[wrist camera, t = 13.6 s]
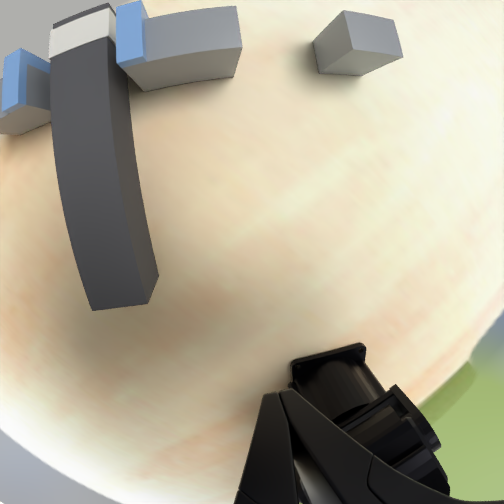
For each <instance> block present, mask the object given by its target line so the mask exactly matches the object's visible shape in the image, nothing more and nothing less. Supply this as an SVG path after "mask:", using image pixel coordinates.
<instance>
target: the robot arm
mask: <svg viewBox="0 0 504 504" xmlns="http://www.w3.org/2000/svg"><path fill="white" fill-rule="evenodd" d="M359 349H360V350H359ZM365 356H366V347H365V345H364V344H362V343H359V344H356V345H352V346H349V347H345V348H341V349H338V350H334V351H330V352H326V353H323V354H319V355H314V356H310V357H306V358H302V359H297V360H294V361H293V362H292V363H291V379H292V383H289V385H288V389H285V390H281V391H279V392H271V393H266V394H264V395H263V397H262V402H261V406H260V410H259V414H258V418H257V422H256V426H255V429H254V433H253V437H252V441H251V445H250V448H249V452H248V456H247V460H246V463H245V467H244V470H243V474H242V478H241V481H240V485H239V488H238V489H239V490H238V491H237V494H236V498H235V501H234V504H299V502H300V503H302V504H504V500H501V501H500V500H499V501H464V500H459V499H455V498H452V497H450V496H449V495H450V486H449V484H448V483H447V482H448V478H447V475H446V473H445V472H444V470H443V468H442V466H441V465H440V463H439V461H438V460H437V458H436V456H435V455H434V453H433V452H435V451H436V450H438V449H439V448H441V443H440V441H439V439H438V437H437V435H436V434H435V432H434V430H433V429H432V427H431V426H430V424H429V423H428V421H427V420H426V418H425V417H424V416H423V414H422V413H421V412H420V411H419V410H418V408H417V407H416V406H415V405H414V404H413V403H412V402H411V401H410V399H409V398H408V397H407V396H406V395H405V394H404V393H403V392H402V390H401V389H400V388H399V387H398V386H397V385H396V384H395V385H393V386H392V387H391V388H390V390H388V391H387V392H386V391H385V390H384V388H383V387H382V385H381V384H380V383H379V381H378V380H377V378H376V377H375V376H374V374H373V373H372V372H371V370H370V369H369V367H368V366H367V365H366V363H365ZM297 365H299V366H297ZM295 366H297V367H295Z"/></svg>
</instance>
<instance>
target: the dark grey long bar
mask: <svg viewBox="0 0 504 504" xmlns="http://www.w3.org/2000/svg"><path fill="white" fill-rule="evenodd" d="M48 59H50V60H51V62H50V107H51V125H52V137H53V147H54V156H55V164H56V171H57V178H58V184H59V190H60V196H61V201H62V206H63V211H64V216H65V220H66V225H67V229H68V233H69V237H70V241H71V245H72V249H73V253H74V256H75V260H76V263H77V267H78V270H79V273H80V277H81V280H82V283H83V286H84V289H85V292H86V295H87V298H88V301H89V304H90V306H91V309H92V311H96V310H104V309H112V308H120V307H128V306H135V305H143V304H148V302H149V299H150V297H151V294H152V292H153V289H154V287H155V284H156V282H157V280H158V277H159V274H158V270H157V266H156V262H155V257H154V253H153V249H152V244H151V240H150V235H149V230H148V225H147V220H146V215H145V210H144V205H143V199H142V194H141V188H140V182H139V176H138V169H137V162H136V156H135V148H134V141H133V132H132V124H131V114H130V104H129V92H128V78H127V73H126V72H125V71H124V70H123V69H122V68H121V67H120V66H119V65H118V64H117V61H116V13H115V12H114V10H113V9H112V7H111V6H110V4H109V3H106V4H103V5H100V6H97V7H94V8H92V9H89V10H86V11H83V12H81V13H78V14H76V15H73V16H71V17H69V18H66V19H64V20H62V21H60V22H57V23H55V24H53V30H51V32H50V42H49V57H48Z"/></svg>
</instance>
